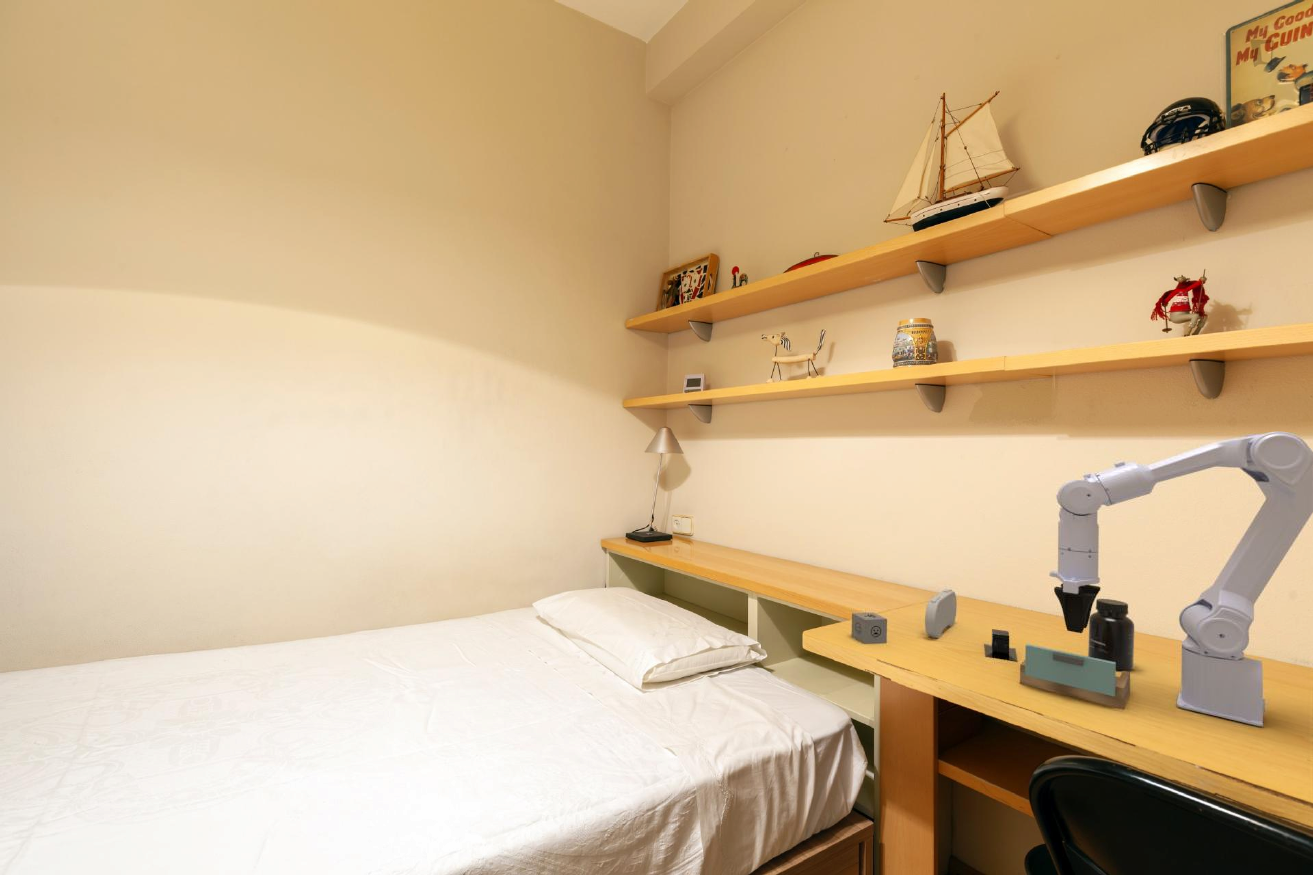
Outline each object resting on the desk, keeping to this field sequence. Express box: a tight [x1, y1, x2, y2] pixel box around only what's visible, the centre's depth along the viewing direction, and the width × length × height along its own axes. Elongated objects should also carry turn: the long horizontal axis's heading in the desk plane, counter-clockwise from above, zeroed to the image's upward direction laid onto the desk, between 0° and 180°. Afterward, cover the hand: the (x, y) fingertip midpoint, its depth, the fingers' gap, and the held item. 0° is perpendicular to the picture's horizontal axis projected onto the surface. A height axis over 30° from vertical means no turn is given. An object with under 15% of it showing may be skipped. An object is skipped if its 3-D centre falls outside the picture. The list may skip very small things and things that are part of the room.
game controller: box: [924, 588, 958, 639], centre depth 133 cm, size 20×2×8 cm, turn 141°
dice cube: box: [850, 612, 888, 645], centre depth 124 cm, size 5×5×5 cm
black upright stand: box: [983, 628, 1019, 663], centre depth 119 cm, size 12×7×5 cm, turn 152°
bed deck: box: [1019, 659, 1131, 710], centre depth 101 cm, size 14×10×3 cm
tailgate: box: [1024, 643, 1117, 697], centre depth 97 cm, size 12×2×5 cm, turn 47°
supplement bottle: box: [1087, 598, 1135, 672], centre depth 113 cm, size 7×7×12 cm
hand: (1077, 629), depth 103 cm, fingers open, 4 cm apart
